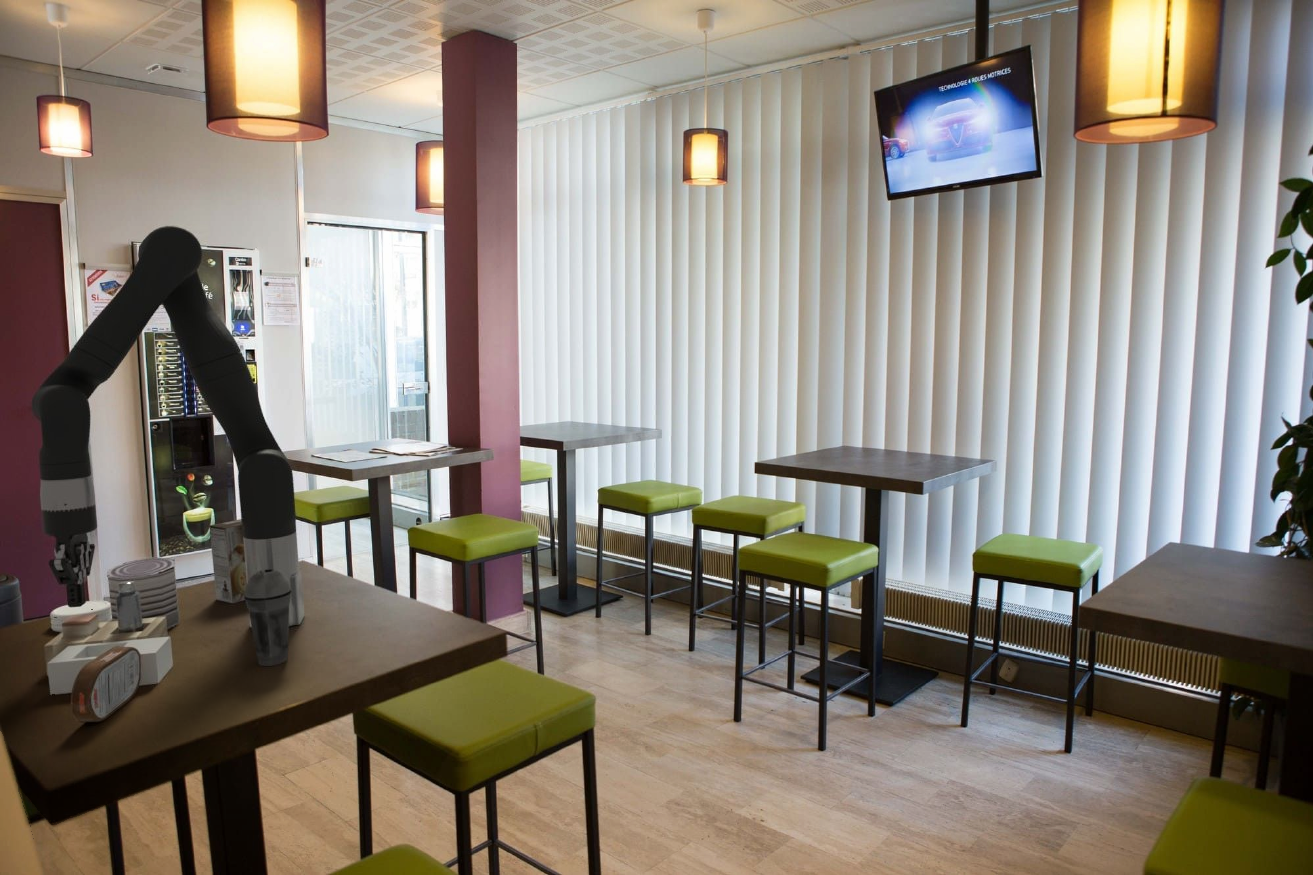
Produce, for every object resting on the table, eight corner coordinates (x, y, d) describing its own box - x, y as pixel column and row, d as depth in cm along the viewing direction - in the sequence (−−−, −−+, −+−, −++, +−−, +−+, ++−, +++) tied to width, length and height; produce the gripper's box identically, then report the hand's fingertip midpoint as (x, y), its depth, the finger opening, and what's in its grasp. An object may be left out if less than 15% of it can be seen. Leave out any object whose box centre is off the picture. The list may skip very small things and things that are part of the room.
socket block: (168, 643, 157) (166, 616, 157) (149, 665, 147) (146, 636, 146) (73, 652, 154) (71, 625, 153) (47, 675, 143) (44, 645, 143)
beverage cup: (306, 655, 149) (297, 540, 147) (274, 671, 143) (265, 550, 140) (271, 651, 152) (263, 537, 150) (239, 666, 145) (229, 547, 143)
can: (194, 617, 172) (189, 558, 171) (151, 637, 161) (145, 573, 160) (143, 616, 174) (137, 557, 173) (97, 635, 163) (91, 572, 162)
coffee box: (255, 588, 192) (249, 516, 190) (272, 592, 189) (267, 519, 187) (214, 599, 184) (208, 524, 183) (232, 604, 181) (226, 527, 179)
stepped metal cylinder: (148, 651, 153) (141, 579, 152) (141, 659, 150) (134, 584, 148) (125, 654, 152) (118, 581, 151) (118, 661, 149) (110, 586, 147)
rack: (173, 665, 146) (170, 636, 146) (158, 683, 138) (155, 652, 138) (71, 675, 143) (68, 646, 142) (50, 694, 135) (47, 663, 134)
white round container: (47, 636, 164) (45, 618, 163) (55, 622, 173) (53, 604, 172) (110, 627, 168) (108, 609, 168) (115, 613, 177) (113, 596, 177)
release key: (100, 639, 151) (97, 613, 151) (91, 646, 147) (88, 620, 147) (74, 641, 150) (71, 616, 150) (64, 649, 147) (61, 623, 146)
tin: (126, 690, 136) (121, 637, 135) (148, 689, 136) (143, 636, 135) (70, 733, 121) (64, 674, 120) (94, 732, 121) (89, 673, 120)
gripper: (78, 510, 141) (86, 615, 143) (108, 496, 154) (115, 593, 156) (24, 512, 139) (34, 619, 141) (59, 499, 152) (68, 596, 154)
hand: (77, 605), depth 148 cm, fingers closed
